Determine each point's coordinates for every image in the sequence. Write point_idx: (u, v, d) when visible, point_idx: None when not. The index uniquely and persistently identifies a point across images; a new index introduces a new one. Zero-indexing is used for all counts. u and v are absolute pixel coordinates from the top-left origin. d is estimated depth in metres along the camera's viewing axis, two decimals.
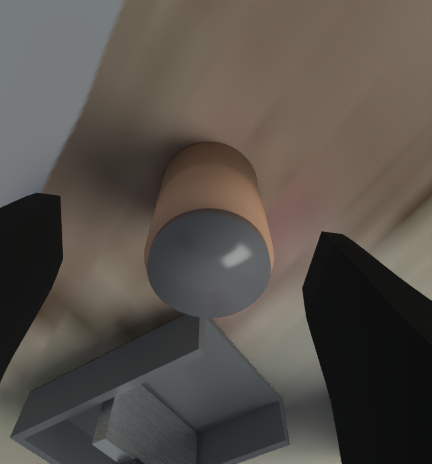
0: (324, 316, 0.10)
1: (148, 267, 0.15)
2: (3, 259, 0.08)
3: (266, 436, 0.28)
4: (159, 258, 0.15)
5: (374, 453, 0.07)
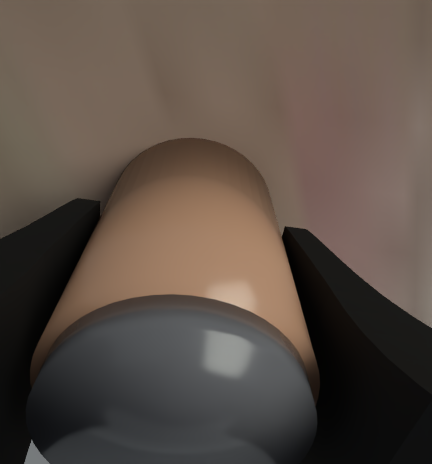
0: None
1: None
2: (56, 265, 0.08)
3: None
4: None
5: (319, 448, 0.07)
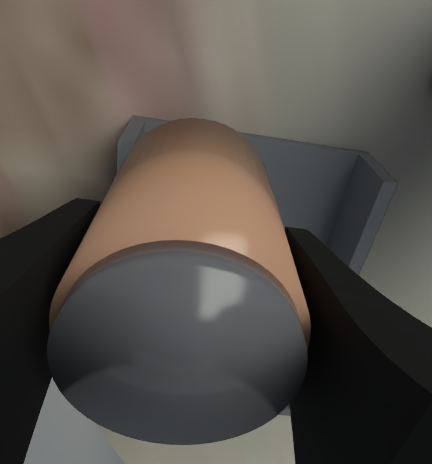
0: None
1: (112, 429, 0.08)
2: (56, 265, 0.08)
3: (365, 203, 0.17)
4: (103, 410, 0.08)
5: (320, 448, 0.07)
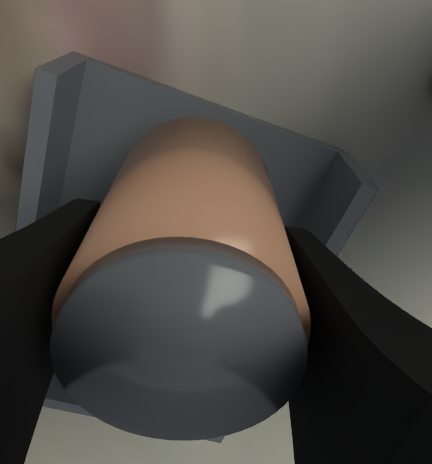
0: None
1: (115, 425, 0.08)
2: (56, 266, 0.08)
3: (336, 208, 0.14)
4: (106, 407, 0.08)
5: (319, 448, 0.07)
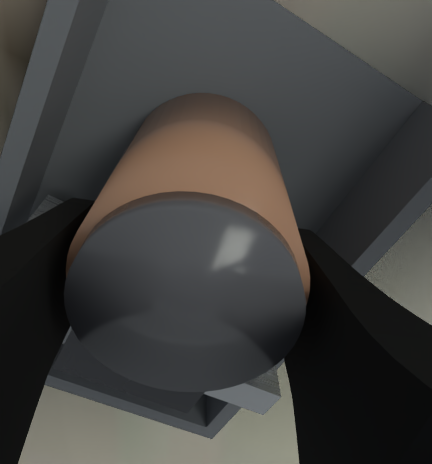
0: None
1: (116, 370, 0.09)
2: (50, 265, 0.08)
3: (423, 162, 0.12)
4: (110, 351, 0.08)
5: (325, 449, 0.07)
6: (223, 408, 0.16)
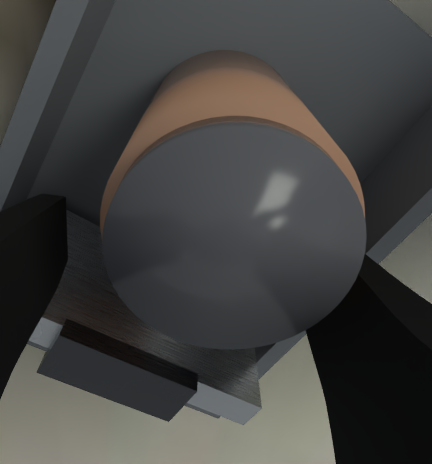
0: None
1: (142, 317, 0.08)
2: (11, 260, 0.08)
3: None
4: (141, 294, 0.08)
5: (367, 453, 0.07)
6: None
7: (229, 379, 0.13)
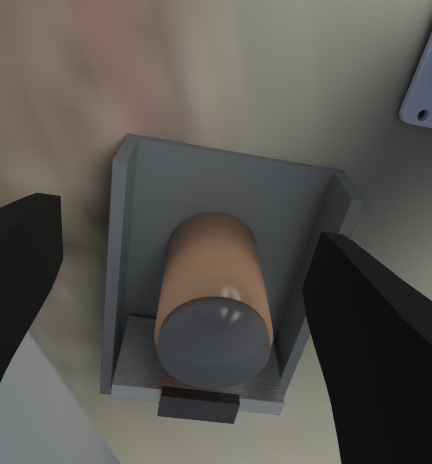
0: (324, 316, 0.10)
1: (189, 383, 0.17)
2: (3, 259, 0.08)
3: (337, 218, 0.19)
4: (183, 375, 0.17)
5: (374, 453, 0.07)
6: None
7: (261, 391, 0.22)
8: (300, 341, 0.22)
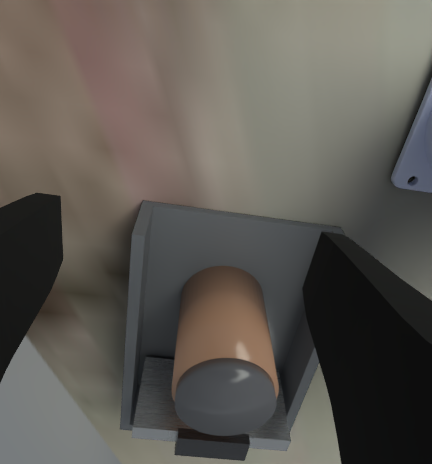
0: (324, 316, 0.10)
1: (203, 432, 0.19)
2: (3, 259, 0.08)
3: None
4: (198, 425, 0.19)
5: (374, 453, 0.07)
6: None
7: (269, 429, 0.23)
8: (304, 382, 0.24)
